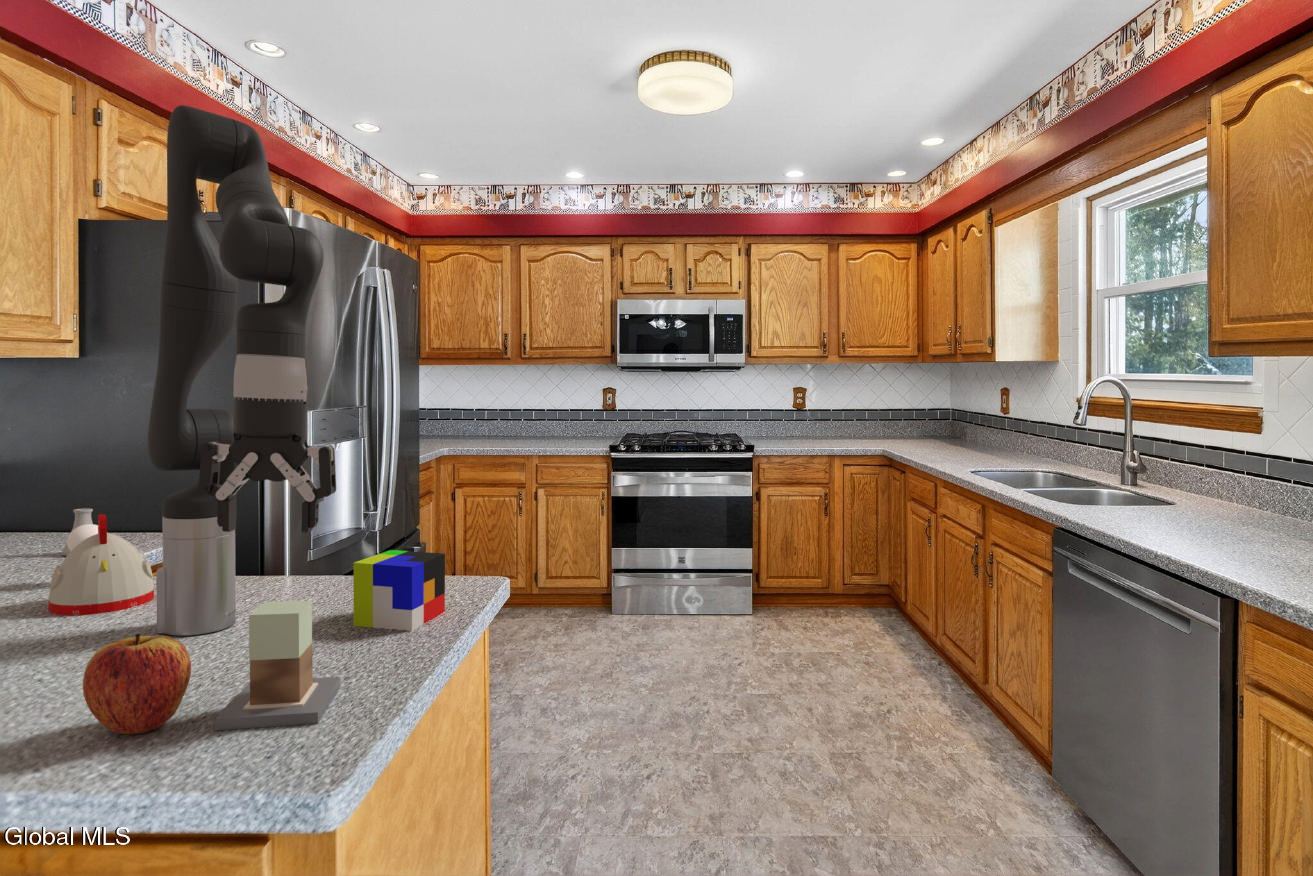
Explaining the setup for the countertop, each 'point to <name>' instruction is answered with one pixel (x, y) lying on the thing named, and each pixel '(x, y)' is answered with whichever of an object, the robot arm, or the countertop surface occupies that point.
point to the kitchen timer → (101, 577)
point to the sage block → (280, 630)
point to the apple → (137, 682)
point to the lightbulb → (81, 535)
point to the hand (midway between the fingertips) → (268, 531)
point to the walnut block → (280, 679)
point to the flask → (79, 523)
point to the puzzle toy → (399, 589)
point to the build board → (279, 708)
